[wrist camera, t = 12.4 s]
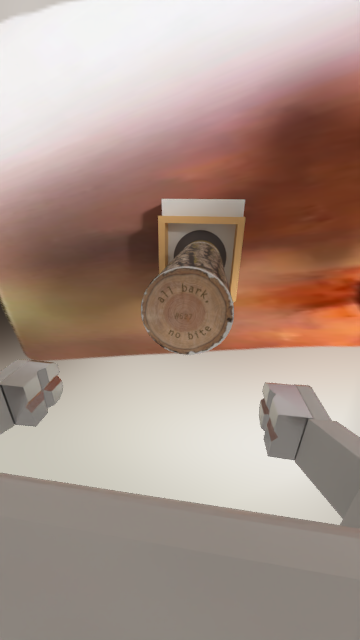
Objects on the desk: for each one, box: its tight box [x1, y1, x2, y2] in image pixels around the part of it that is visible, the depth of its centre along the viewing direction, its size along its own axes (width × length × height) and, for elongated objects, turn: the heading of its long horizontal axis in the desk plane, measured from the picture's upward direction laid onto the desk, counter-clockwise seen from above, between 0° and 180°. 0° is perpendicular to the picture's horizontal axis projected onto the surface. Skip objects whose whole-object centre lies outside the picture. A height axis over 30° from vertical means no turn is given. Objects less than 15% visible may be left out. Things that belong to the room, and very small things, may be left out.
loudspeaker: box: [158, 199, 246, 302], centre depth 40 cm, size 13×18×8 cm
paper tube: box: [141, 240, 234, 355], centre depth 28 cm, size 7×7×25 cm
